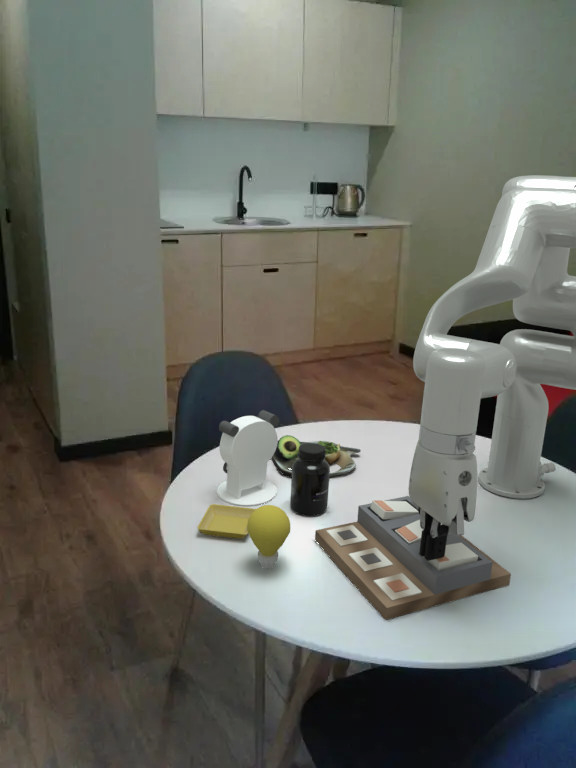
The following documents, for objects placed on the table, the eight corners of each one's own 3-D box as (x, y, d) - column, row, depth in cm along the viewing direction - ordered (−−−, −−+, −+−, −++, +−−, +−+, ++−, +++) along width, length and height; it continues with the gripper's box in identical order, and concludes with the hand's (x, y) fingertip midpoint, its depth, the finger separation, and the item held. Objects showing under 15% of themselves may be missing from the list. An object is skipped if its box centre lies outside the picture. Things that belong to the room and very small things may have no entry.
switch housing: (406, 511, 119) (408, 495, 118) (489, 579, 100) (492, 561, 99) (357, 521, 115) (358, 505, 114) (434, 594, 96) (436, 576, 95)
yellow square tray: (246, 545, 111) (246, 534, 110) (196, 539, 112) (196, 528, 112) (257, 519, 119) (258, 508, 118) (210, 513, 120) (210, 503, 120)
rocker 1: (403, 508, 116) (406, 500, 116) (417, 519, 113) (419, 511, 112) (370, 508, 113) (372, 499, 113) (383, 519, 110) (385, 510, 109)
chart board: (424, 517, 121) (425, 505, 120) (509, 585, 102) (511, 571, 101) (314, 540, 112) (315, 528, 111) (385, 620, 93) (387, 606, 92)
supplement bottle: (324, 519, 119) (327, 457, 115) (286, 514, 120) (289, 453, 116) (330, 501, 125) (333, 442, 122) (294, 497, 127) (296, 438, 123)
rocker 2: (431, 521, 109) (431, 513, 109) (446, 533, 106) (446, 525, 105) (395, 537, 107) (394, 529, 106) (409, 550, 104) (409, 542, 103)
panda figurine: (253, 472, 136) (254, 403, 131) (291, 493, 128) (294, 419, 123) (205, 489, 128) (204, 416, 123) (242, 512, 120) (243, 435, 116)
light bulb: (257, 581, 101) (258, 522, 98) (239, 558, 106) (240, 502, 103) (296, 570, 104) (299, 513, 101) (277, 549, 109) (279, 493, 106)
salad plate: (348, 442, 153) (349, 424, 152) (375, 477, 136) (377, 456, 135) (265, 448, 149) (265, 428, 147) (282, 484, 132) (283, 463, 131)
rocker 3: (459, 550, 103) (461, 541, 103) (476, 564, 100) (478, 555, 99) (422, 557, 100) (423, 547, 100) (438, 571, 97) (440, 562, 96)
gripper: (505, 455, 87) (486, 578, 93) (436, 418, 100) (423, 527, 106) (458, 462, 84) (441, 589, 90) (393, 422, 97) (382, 535, 103)
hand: (431, 555), depth 98 cm, fingers closed
